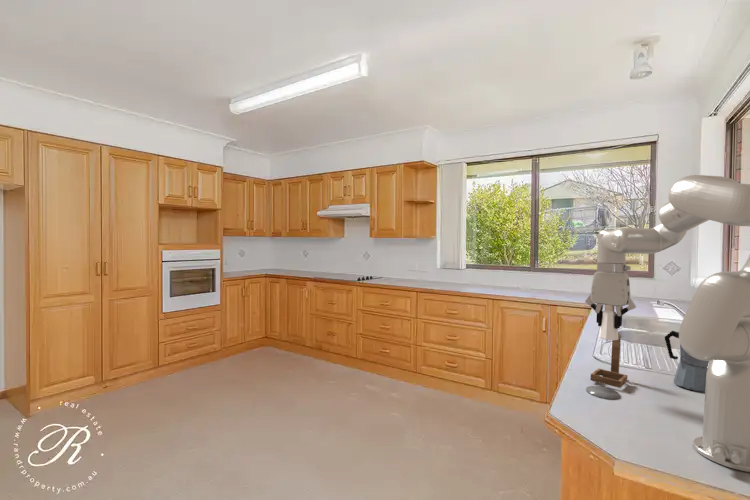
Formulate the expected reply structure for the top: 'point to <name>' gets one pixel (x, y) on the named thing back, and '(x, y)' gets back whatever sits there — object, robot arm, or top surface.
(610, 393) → the coaster
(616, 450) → the top surface
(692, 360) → the moka pot
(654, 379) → the top surface
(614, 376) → the ring stand
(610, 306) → the pepper shaker
